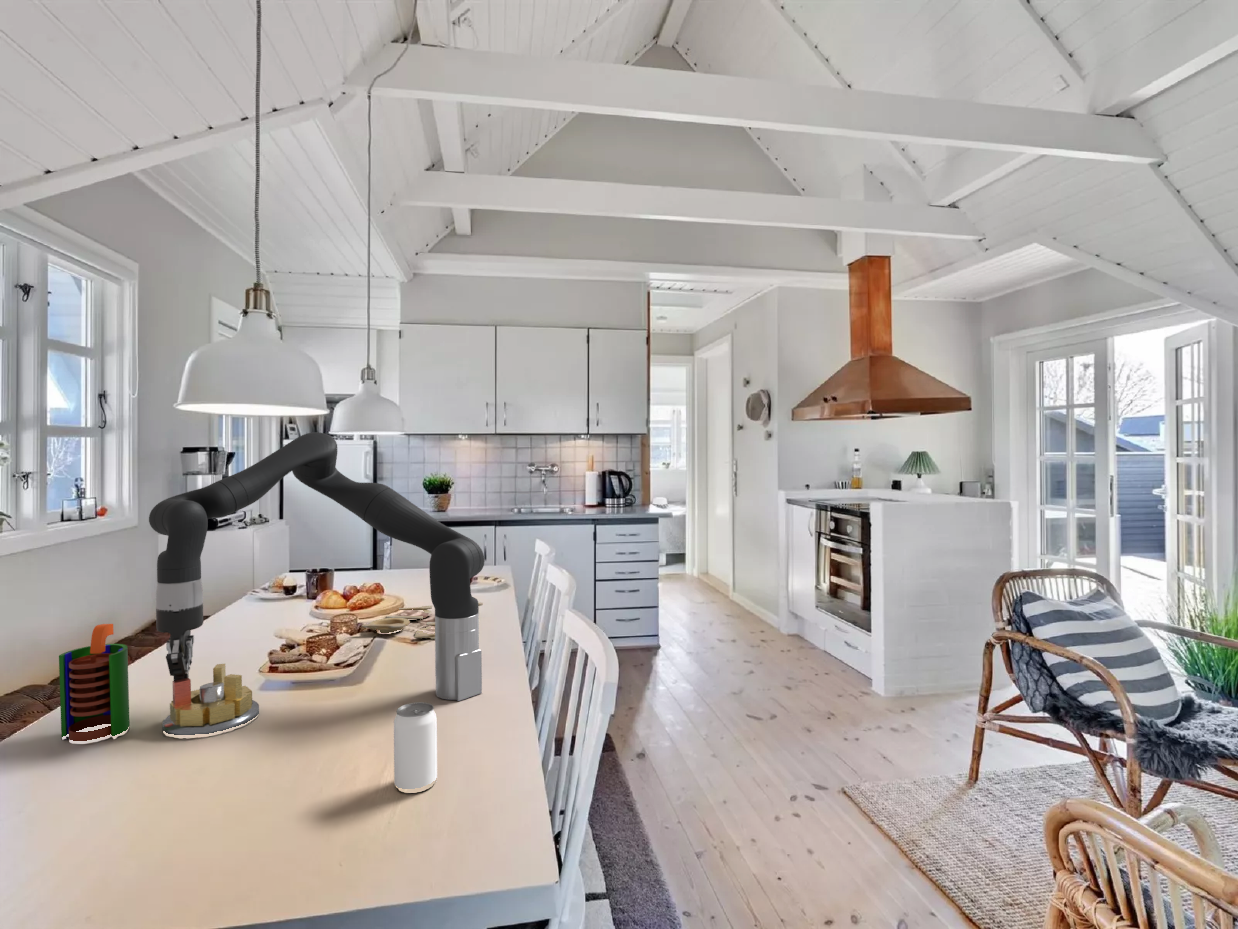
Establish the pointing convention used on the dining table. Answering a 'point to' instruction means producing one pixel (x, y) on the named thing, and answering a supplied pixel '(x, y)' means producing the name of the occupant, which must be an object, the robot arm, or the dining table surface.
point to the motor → (94, 688)
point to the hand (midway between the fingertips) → (181, 693)
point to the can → (415, 745)
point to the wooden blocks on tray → (195, 714)
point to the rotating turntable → (208, 695)
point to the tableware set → (402, 623)
